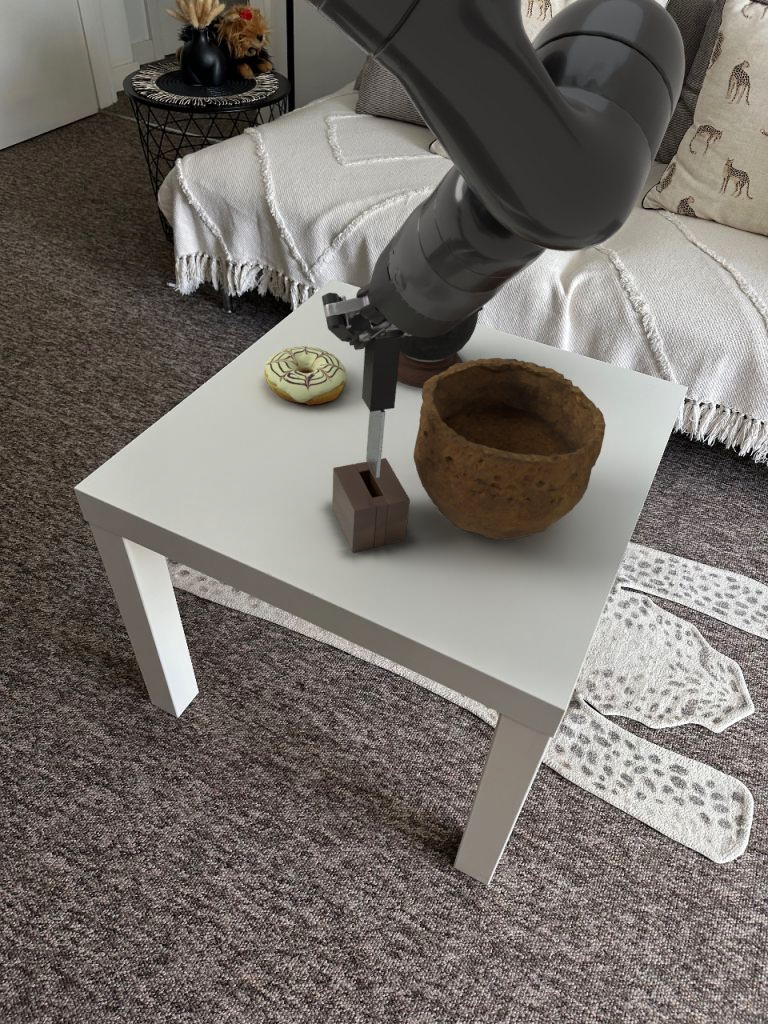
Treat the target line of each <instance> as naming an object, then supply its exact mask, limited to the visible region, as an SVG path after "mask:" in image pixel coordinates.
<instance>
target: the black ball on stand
mask: <svg viewBox="0 0 768 1024" xmlns="http://www.w3.org/2000/svg"><path fill="white" fill-rule="evenodd" d="M478 320H479V312H478V313H474V314H472V315H470V316H469V317H468V318H466V319H465V320H463V321H462V322H461V323H459V324H458V325H457V326H455V327H454V328H453V329H451V330H450V331H448V332H446V333H444V334H442V335H439V336H435V337H417V336H413V335H412V336H408V335H407V336H405V337H403V338H402V339H401V346H400V356H399V366H398V376H397V382H400V383H402V384H403V385H408V386H411V387H416V388H421V389H423V385H424V383H425V382H426V381H427V380H429V379H430V378H431V377H433V376H435V375H439V374H440V373H442V372H444V371H447V369H448V368H449V367H450V366H453V365H455V364H457V363H463V361H462V358H461V357H460V356H459V352H460V351H461V350H462V349H463V348H464V347H465V346H466V345H467V344H468V342H469V341H470V340H471V338H472V336H473V334H474V332H475V330H476V328H477V324H478Z"/></svg>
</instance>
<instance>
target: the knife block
mask: <svg viewBox="0 0 768 1024" xmlns="http://www.w3.org/2000/svg"><path fill="white" fill-rule="evenodd" d="M332 472H333V473H332V503H331V504H332V505H331V506H332V507H331V508H332V512H333V513H334V515H335V518H336V519H337V522H338V524H339V527H340V528H341V531H342V533H343V535H344V538H345V540H346V542H347V544H348V546H349V548H350V551H351V553H356V552H361V551H364V550H369V549H373V548H378V547H382V546H383V547H384V546H386V545H387V546H388V545H392V544H395V543H401V542H404V541H406V535H407V528H408V518H409V511H410V504H411V503H410V502H411V499H410V497H409V495H408V494H407V492H406V490H405V488H404V487H403V485H402V483H401V481H400V480H399V478H398V476H397V475H396V473H395V471H394V470H393V468H392V466H391V464H390V462H389V460H388V459H387V458H386V457H383V458H381V467H380V477H379V478H376V477H375V475H374V473H373V472H372V470H371V468H370V466H369V464H368V462H367V461H363V462H357V463H351V464H347V465H340V466H336V467H333V468H332Z"/></svg>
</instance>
